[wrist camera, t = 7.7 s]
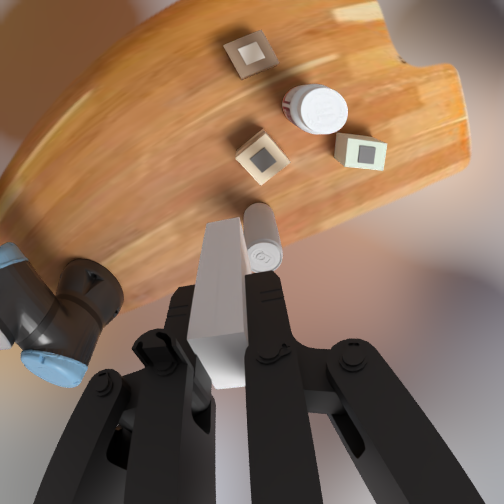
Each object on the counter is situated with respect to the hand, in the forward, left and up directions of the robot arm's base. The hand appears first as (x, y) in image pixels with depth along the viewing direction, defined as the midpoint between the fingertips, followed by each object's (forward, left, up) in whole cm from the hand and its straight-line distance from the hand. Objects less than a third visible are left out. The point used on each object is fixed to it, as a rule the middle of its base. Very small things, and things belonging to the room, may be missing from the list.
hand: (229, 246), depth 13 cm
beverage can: (+1, -12, -29) cm, 31 cm away
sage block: (+17, -3, -29) cm, 33 cm away
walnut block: (+4, +12, -29) cm, 31 cm away
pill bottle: (+10, +4, -29) cm, 30 cm away
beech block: (+3, -2, -29) cm, 29 cm away
